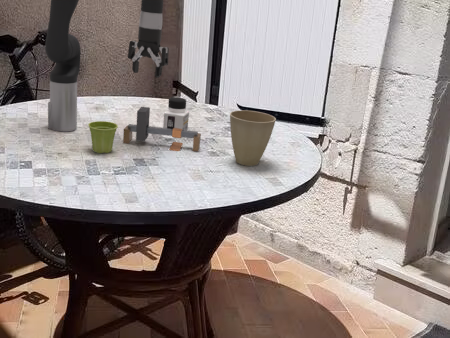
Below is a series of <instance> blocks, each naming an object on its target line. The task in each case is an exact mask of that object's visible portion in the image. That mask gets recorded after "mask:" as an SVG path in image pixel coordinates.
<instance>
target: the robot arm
mask: <svg viewBox="0 0 450 338" xmlns="http://www.w3.org/2000/svg"><path fill="white" fill-rule="evenodd" d="M79 1H80V0H50V8H49V9H50V10H49V19H48V20H49V21H48V26H47V31H46V37H45V46H44V49H45V54H46V56H47V58H48V59H49V61H51V62H53V63H55V66H54V68H53V69H52V70H51V71H50V73H49V101H48V103H47V128H48V130H53V131H56V132H72V131H76V130H77V128H78V127H77V125H78V77H79V74H80V69H81V53H82V52H81V46H80V45H81V44H80V41H79V39H78V38H77V37H76V36H75V35H73V34H71V33H70V23H71V20H72V17H73V15H74V13H75V11H76V8H77V6H78V4H79ZM140 3H141V6H140V14H139V22H138V34H137V36H138V37H137V38H138V41H137V40H130V41H129V42H128V52H127V59H129V60H131V61H132V65H131V66H132V67H131V69H132V72H133V74H136V73H139V67H140V60H141V58H142V57H143V58H149V59H152V61H153V62H154V63H155V65H156V66H155V73H154V78H156V79H158V78H160V77H161V76H162V72H163V67H164V66H168V65H169V50H170V49H169V47H168V46H167V47H166V46H164V47H163V46H161V41H162V33H163V31H162V29H163V21H164V20H163V11H164V0H141V2H140ZM136 48H137V49H138V51H137V52H136ZM159 52H160V53H161V55H160V54H159Z"/></svg>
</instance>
